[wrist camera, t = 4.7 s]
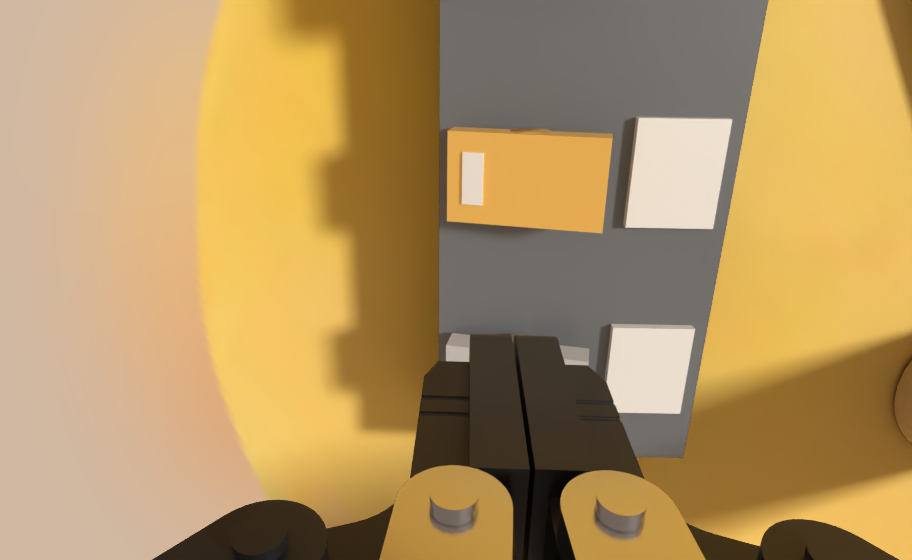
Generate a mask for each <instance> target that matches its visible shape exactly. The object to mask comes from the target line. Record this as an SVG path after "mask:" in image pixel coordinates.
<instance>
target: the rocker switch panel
mask: <svg viewBox="0 0 912 560" xmlns="http://www.w3.org/2000/svg"><path fill="white" fill-rule="evenodd" d="M767 5H768V0H440V156H439V361H446V344H447V342H448V340H449V338H450V336H451V334H452V333H458V334H467V335H470V334H491V335H512V334H521V335H530V336H556V337H557V338H558V341H559V345H563V346H571V347H580V348H589V364H588V366H589V367H590V368H591V369H592V370H593V371H594V372H596V373H597V374H598V375H599V376H600V377H601V378H602V379H603V380H605V381H606V383H607V385H608V388H609V390H610V393H611V395H612V398H613V401H614V405H615V406H616V408H617V411H618V413H619V416H620V421H622V423H623V426H624V429H625V431H626V434H627V436H628V439H629V441H630V444H631V446H632V449H633V451H634V454H635V457H676V458H683V455H684V450H685V445H686V439H687V434H688V429H689V423H690V418H691V412H692V407H693V402H694V396H695V391H696V386H697V380H698V375H699V370H700V364H701V359H702V353H703V348H704V343H705V337H706V332H707V327H708V321H709V316H710V310H711V305H712V300H713V294H714V289H715V284H716V278H717V273H718V268H719V262H720V257H721V251H722V246H723V241H724V235H725V230H726V225H727V219H728V214H729V209H730V203H731V198H732V192H733V187H734V182H735V176H736V171H737V166H738V160H739V155H740V149H741V144H742V139H743V133H744V128H745V123H746V117H747V112H748V107H749V101H750V96H751V90H752V85H753V80H754V74H755V69H756V64H757V58H758V53H759V48H760V42H761V37H762V31H763V26H764V21H765V15H766V10H767ZM453 127H473V128H495V129H515V128H540V129H547V130H551V131H562V132H584V133H607V134H612V136H613V140H612V149H611V158H610V167H609V177H608V186H607V195H606V205H605V214H604V223H603V232H602V233H591V232H578V231H565V230H553V229H540V228H527V227H514V226H501V225H489V224H476V223H463V222H450V221H447V140H448V130H450V129H452V128H453Z"/></svg>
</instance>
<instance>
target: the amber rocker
mask: <svg viewBox="0 0 912 560" xmlns="http://www.w3.org/2000/svg"><path fill="white" fill-rule="evenodd" d="M612 140H613V136H612V134H607V133H584V132H562V131H551V130H547V129H540V128H515V129H495V128H473V127H453V128H452V129H450V130H448V140H447V221H450V222H463V223H476V224H489V225H501V226H514V227H527V228H540V229H553V230H565V231H578V232H591V233H602V232H603V223H604V214H605V205H606V195H607V186H608V177H609V167H610V158H611V149H612Z"/></svg>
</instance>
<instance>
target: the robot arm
mask: <svg viewBox="0 0 912 560" xmlns="http://www.w3.org/2000/svg"><path fill="white" fill-rule="evenodd" d="M894 406H895V417H896V420H897V423H898V426H899V428H900V430H901V431H902V433H903V434H904V435H905V437H906V438H907V439H908V440H909V441H910V442H911V443H912V361H911V362H910V363H909V365H908V366H907V368H906V369H905V370H904V373H903V375H902V377H901V379H900V381H899V384H898V386H897V390H896V395H895V400H894ZM153 560H899V559H897V558H895V557H893V556H892V555H890V554H888V553H886V552H885V551H883V550H881V549H879V548H878V547H876V546H874V545H872V544H871V543H869V542H867V541H865V540H864V539H862V538H860V537H858V536H856V535H854V534H852V533H850V532H848V531H846V530H843V529H841V528H838V527H836V526H832V525H829V524H826V523H822V522H818V521H812V520H804V519H792V520H785V521H781V522H778V523H776V524H774V525H772V526H771V527H769V528H768V530H767V531H766V532H765V533H764V536H763V538H762V541H761V545H760V546H756V545H752V544H749V543H745V542H741V541H738V540H734V539H730V538H727V537H723V536H719V535H716V534H712V533H709V532H706V531H703V530H701V529H698V528H696V527H694V526H691V525H689V524H687V523H686V522H685V520H684V519H683V517H682V515H681V513H680V511H679V509H678V508H677V506H676V505H675V503H674V502H673V500H672V499H671V498H670V497H669V496H668V495H667V494H666V493H665V492H664V491H662V490H661V489H660V488H659V487H657V486H655V485H654V484H652V483H651V482H649V481H647V480H645V479H644V477H643V474H642V472H641V469H640V467H639V464H638V462H637V459H636V457H635V454H634V451H633V449H632V446H631V444H630V441H629V439H628V436H627V434H626V431H625V429H624V426H623V423H622V421H620V416H619V413H618V411H617V408H616V406H615V405H614V401H613V398H612V395H611V393H610V390H609V388H608V385H607V383H606V381H605V380H603V379H602V378H601V377H600V376H599V375H598V374H597V373H596V372H594V371H593V370H592V369H591V368H590V367H589V366H588V365H565V362H564V359H563V355H562V352H561V348H560V345H559V341H558V338H557V337H556V336H530V335H514V339H513V342H512V336H511V335H491V334H470V344H469V362H457V361H438V362H437V363H436V364H435V366H434V367H433V368H432V369H431V370H430V371H429V372H428V373H427V374H426V375H425V376H424V382H423V389H422V399H421V404H420V411H419V418H418V425H417V433H416V440H415V447H414V454H413V461H412V469H411V476H410V479H409V480H408V481H407V482H406V483H405V484H404V485H403V486H402V488H401V489H400V491H399V492H398V495H397V497H396V500H395V503H394V504H393V505H392V506H391V507H389V508H388V509H386V510H385V511H383V512H381V513H379V514H378V515H375V516H373V517H371V518H368V519H365V520H362V521H358V522H355V523H350V524H346V525H341V526H337V527H332V528H328V529H326V527H325V525H324V522H323V521H322V519H321V518H320V516H319V515H318V514H317V513H316V512H315V511H314V510H312V509H310V508H309V507H307V506H305V505H302V504H300V503H297V502H292V501H286V500H267V501H262V502H256V503H252V504H249V505H246V506H243V507H241V508H238V509H236V510H234V511H232V512H230V513H228V514H226V515H225V516H223V517H221V518H220V519H218V520H216V521H215V522H213V523H212V524H210V525H208V526H207V527H205V528H203V529H202V530H200V531H199V532H197V533H195V534H193V535H192V536H190V537H189V538H187V539H185V540H184V541H182V542H180V543H179V544H177V545H175V546H174V547H172V548H171V549H169V550H167V551H166V552H164V553H162V554H161V555H159V556H158V557H156V558H154V559H153Z"/></svg>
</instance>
